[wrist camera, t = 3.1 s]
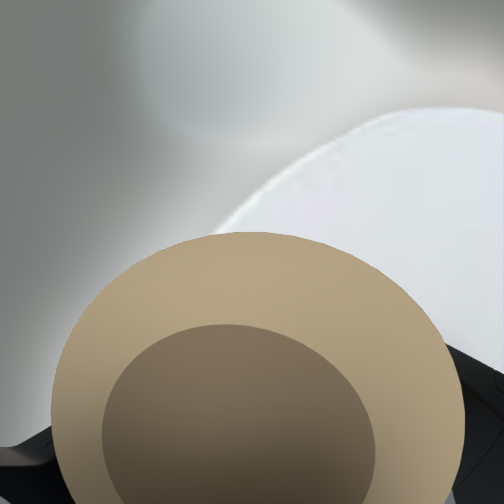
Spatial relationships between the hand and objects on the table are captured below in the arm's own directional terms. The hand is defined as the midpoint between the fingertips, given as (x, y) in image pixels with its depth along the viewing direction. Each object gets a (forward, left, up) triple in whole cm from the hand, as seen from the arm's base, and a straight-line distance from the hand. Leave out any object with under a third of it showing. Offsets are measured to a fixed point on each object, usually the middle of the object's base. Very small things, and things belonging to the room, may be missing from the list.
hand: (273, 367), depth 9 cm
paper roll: (-1, -1, -7) cm, 7 cm away
